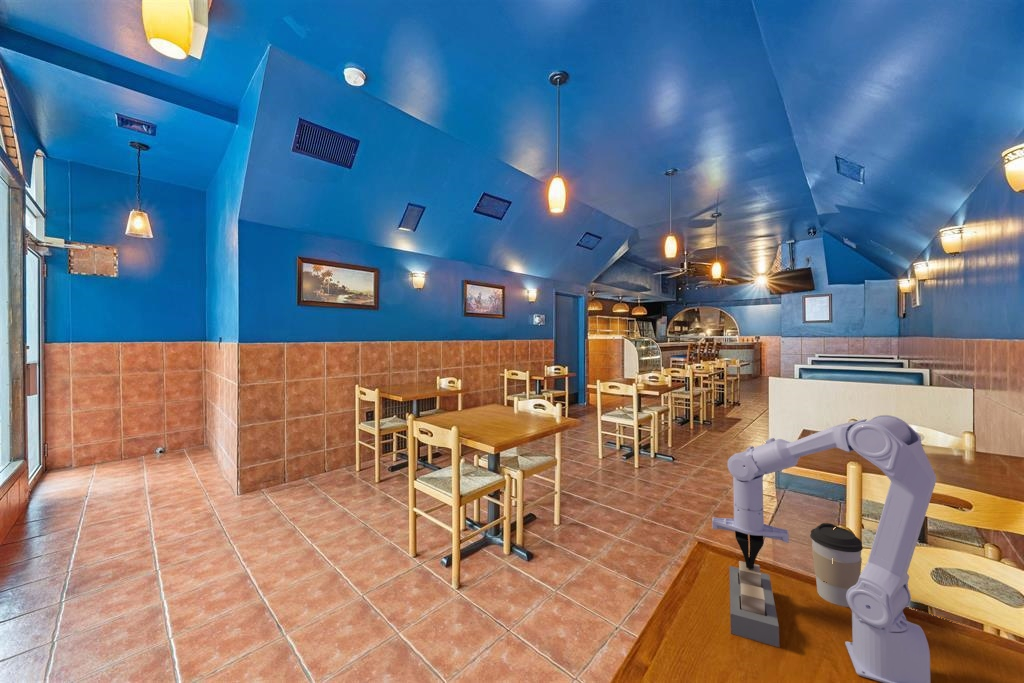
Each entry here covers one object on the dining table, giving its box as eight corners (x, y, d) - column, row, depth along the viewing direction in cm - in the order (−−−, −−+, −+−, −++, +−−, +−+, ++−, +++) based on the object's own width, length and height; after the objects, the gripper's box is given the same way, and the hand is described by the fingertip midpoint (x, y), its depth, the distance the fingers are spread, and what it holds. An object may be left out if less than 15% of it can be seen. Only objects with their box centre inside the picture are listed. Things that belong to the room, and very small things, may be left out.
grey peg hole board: (769, 591, 90) (769, 574, 90) (779, 647, 74) (778, 626, 74) (729, 582, 94) (729, 565, 94) (730, 633, 78) (730, 613, 78)
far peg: (759, 580, 89) (759, 565, 89) (761, 591, 85) (760, 574, 85) (739, 576, 91) (739, 560, 91) (740, 586, 87) (739, 570, 87)
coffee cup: (874, 612, 82) (873, 542, 82) (825, 608, 84) (824, 538, 84) (847, 586, 91) (845, 521, 91) (803, 582, 93) (801, 519, 93)
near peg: (763, 605, 81) (762, 588, 81) (765, 617, 77) (764, 599, 77) (740, 599, 83) (740, 582, 83) (741, 611, 79) (741, 593, 79)
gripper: (785, 504, 88) (786, 564, 88) (712, 493, 95) (713, 549, 95) (789, 517, 82) (791, 582, 82) (711, 505, 88) (712, 565, 89)
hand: (749, 566), depth 88 cm, fingers closed
